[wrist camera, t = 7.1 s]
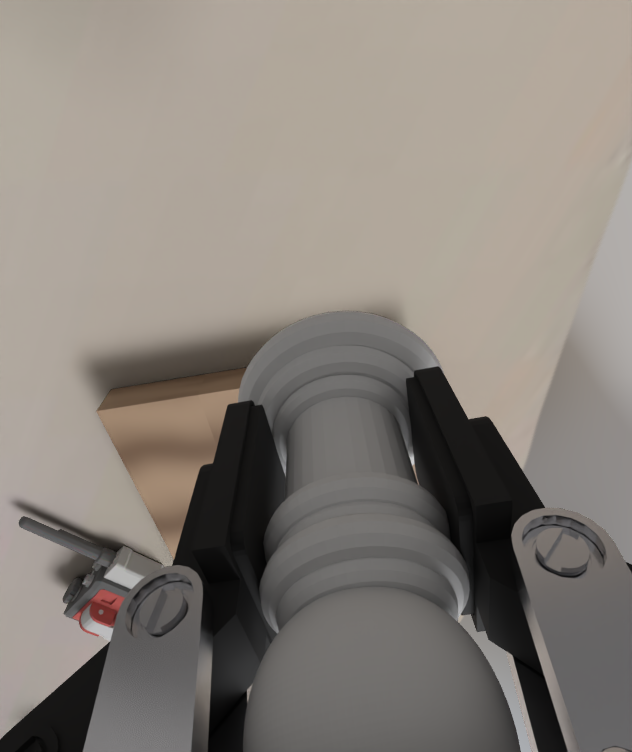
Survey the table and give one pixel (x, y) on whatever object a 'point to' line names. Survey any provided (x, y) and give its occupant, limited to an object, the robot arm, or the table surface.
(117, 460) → the table surface
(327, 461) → the chess piece
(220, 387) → the socket holder
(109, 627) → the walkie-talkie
